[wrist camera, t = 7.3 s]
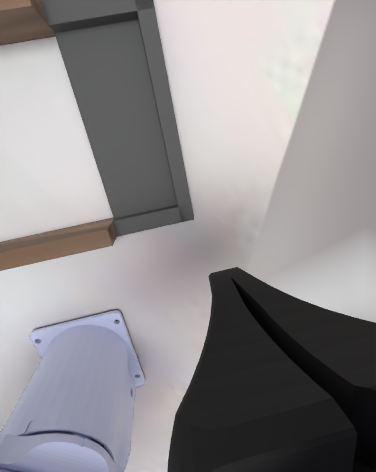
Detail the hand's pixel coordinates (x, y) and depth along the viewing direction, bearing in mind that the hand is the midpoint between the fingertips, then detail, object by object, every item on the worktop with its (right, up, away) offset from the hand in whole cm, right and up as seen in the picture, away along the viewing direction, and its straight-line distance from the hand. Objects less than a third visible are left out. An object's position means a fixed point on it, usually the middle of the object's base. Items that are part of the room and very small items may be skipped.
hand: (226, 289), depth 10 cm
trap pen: (-6, +10, +6) cm, 13 cm away
